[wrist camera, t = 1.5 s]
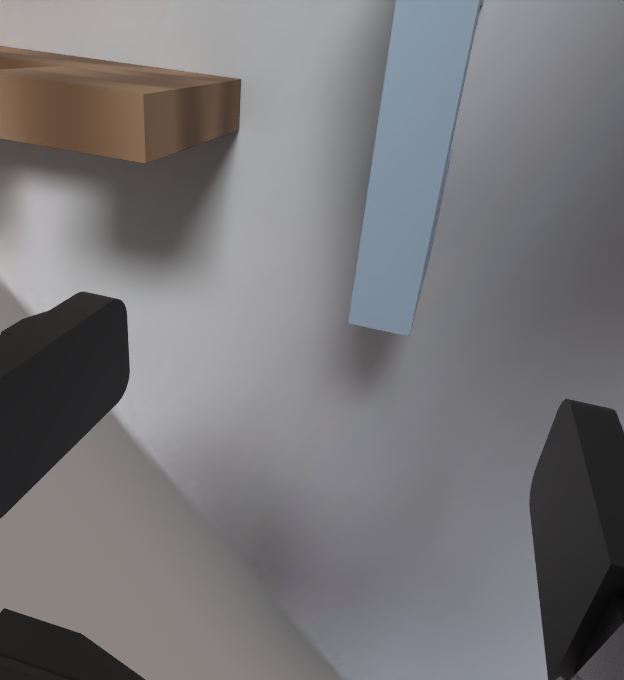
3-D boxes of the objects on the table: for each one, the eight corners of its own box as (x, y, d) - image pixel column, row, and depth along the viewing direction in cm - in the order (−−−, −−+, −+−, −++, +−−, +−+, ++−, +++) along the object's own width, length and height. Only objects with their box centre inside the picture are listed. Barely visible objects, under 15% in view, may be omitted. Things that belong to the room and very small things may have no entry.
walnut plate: (240, 79, 24) (143, 94, 17) (238, 129, 25) (145, 163, 18) (-86, 34, 27) (-282, 31, 20) (-77, 81, 28) (-261, 94, 21)
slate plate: (453, -160, 19) (436, -274, 12) (516, -156, 19) (535, -272, 12) (384, 248, 26) (348, 323, 19) (429, 256, 25) (409, 336, 18)
